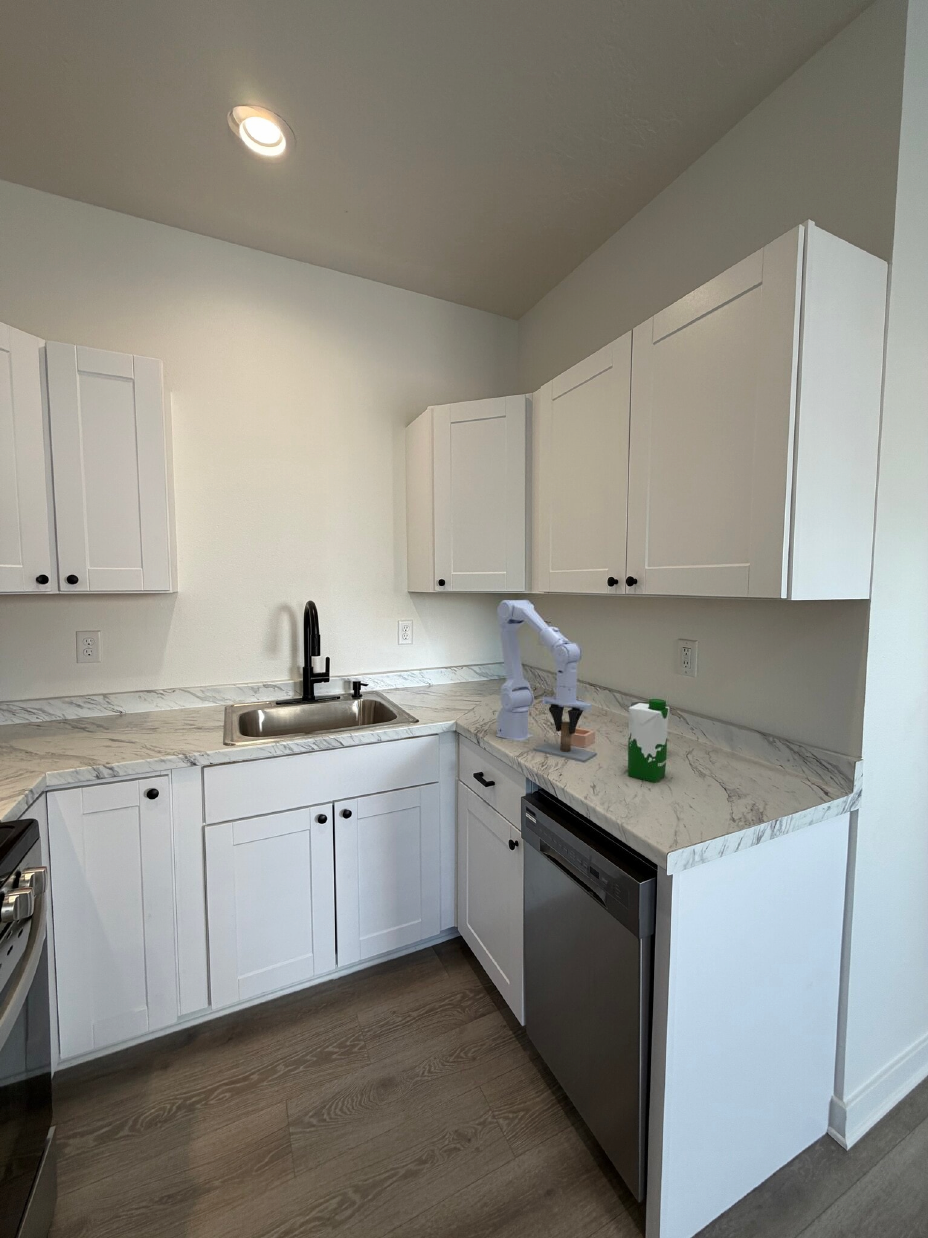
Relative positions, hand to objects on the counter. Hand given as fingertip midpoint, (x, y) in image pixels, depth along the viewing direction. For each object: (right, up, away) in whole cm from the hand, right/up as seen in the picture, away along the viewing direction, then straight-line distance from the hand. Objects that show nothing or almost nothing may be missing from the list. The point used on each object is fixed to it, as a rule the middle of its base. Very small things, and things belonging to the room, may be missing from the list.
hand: (565, 732), depth 149 cm
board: (0, -7, 0) cm, 7 cm away
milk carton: (+18, -8, -16) cm, 25 cm away
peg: (0, -5, 0) cm, 5 cm away
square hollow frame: (+6, -6, +10) cm, 13 cm away
